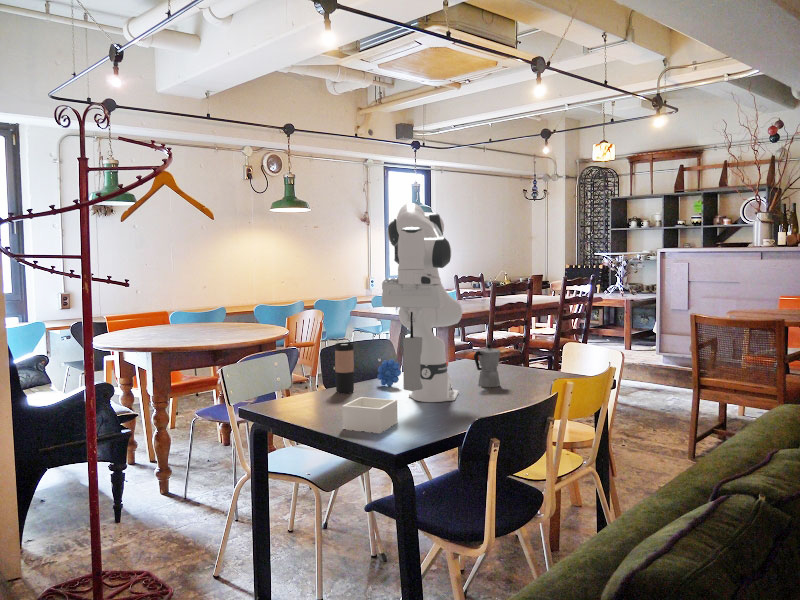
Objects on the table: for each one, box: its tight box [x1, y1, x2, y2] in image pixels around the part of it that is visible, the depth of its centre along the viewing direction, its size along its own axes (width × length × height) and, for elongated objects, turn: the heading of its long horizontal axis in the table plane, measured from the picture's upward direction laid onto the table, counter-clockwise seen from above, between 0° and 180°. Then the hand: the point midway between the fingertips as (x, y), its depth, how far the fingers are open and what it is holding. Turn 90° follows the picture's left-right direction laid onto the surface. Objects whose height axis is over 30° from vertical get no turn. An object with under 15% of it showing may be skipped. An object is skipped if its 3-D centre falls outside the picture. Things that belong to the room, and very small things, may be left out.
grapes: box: [376, 358, 402, 387], centre depth 279 cm, size 12×7×12 cm, turn 61°
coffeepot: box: [473, 343, 501, 389], centre depth 276 cm, size 15×9×18 cm, turn 129°
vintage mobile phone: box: [402, 312, 423, 392], centre depth 207 cm, size 4×5×25 cm
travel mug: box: [334, 342, 355, 394], centre depth 268 cm, size 8×8×20 cm
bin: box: [341, 396, 398, 434], centre depth 214 cm, size 14×14×8 cm
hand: (412, 321), depth 207 cm, fingers closed on vintage mobile phone
